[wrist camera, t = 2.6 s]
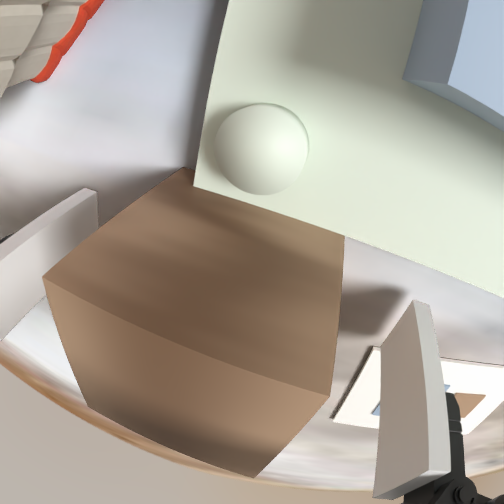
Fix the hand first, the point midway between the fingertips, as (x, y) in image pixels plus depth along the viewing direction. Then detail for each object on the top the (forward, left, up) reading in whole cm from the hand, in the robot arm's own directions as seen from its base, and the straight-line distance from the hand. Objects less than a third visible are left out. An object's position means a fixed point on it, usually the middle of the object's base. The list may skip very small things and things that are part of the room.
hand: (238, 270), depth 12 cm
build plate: (+9, +14, -1) cm, 17 cm away
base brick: (+9, +14, 0) cm, 17 cm away
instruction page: (+12, -5, -1) cm, 13 cm away
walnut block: (0, 0, -1) cm, 1 cm away
